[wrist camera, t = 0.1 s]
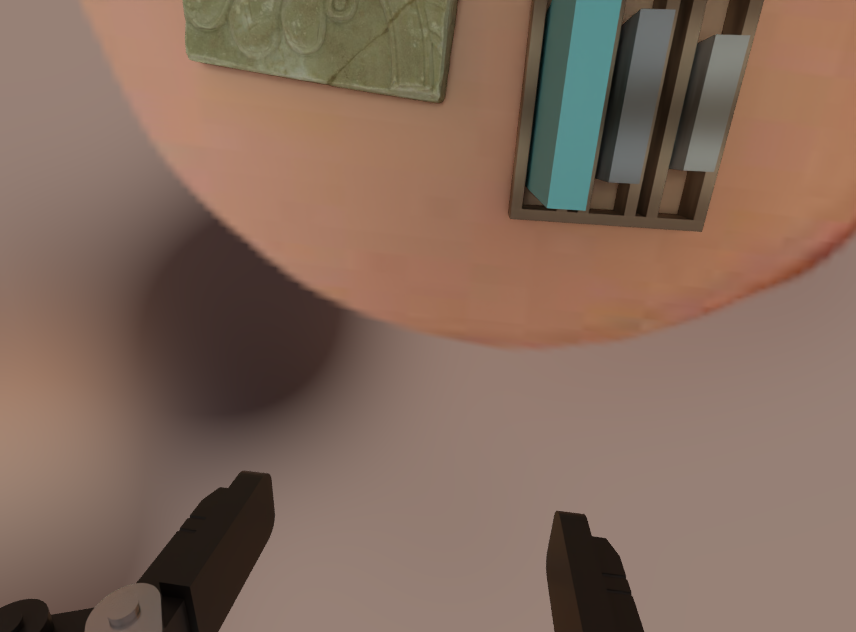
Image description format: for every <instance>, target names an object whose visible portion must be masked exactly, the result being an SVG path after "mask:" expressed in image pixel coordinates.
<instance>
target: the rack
mask: <svg viewBox="0 0 856 632" xmlns="http://www.w3.org/2000/svg"><path fill="white" fill-rule="evenodd" d="M625 2H626V0H622V2H621V8H620V13H619V19H618V25H617V31H616V37H615V43H614V48H613V54H612V60H611V66H610V72H609V77H608V83H607V89H606V95H605V101H604V106H603V112H602V118H601V124H600V130H599V136H598V141H597V147H596V153H595V159H594V165H593V170H592V176H591V182H590V188H589V194H588V199H587V205H586V211H582V210H567V209H551V208H546V207H545V206H539V205H523V204H522V203H523V195H524V187H525V179H526V170H527V162H528V154H529V146H530V138H531V129H532V121H533V113H534V105H535V97H536V88H537V80H538V72H539V64H540V56H541V47H542V39H543V31H544V23H545V15H546V6H547V0H532V5H531V14H530V23H529V32H528V41H527V50H526V59H525V67H524V76H523V85H522V94H521V103H520V112H519V121H518V130H517V139H516V148H515V157H514V166H513V175H512V184H511V193H510V202H509V211H508V214H509V217H510V219H520V220H534V221H549V222H564V223H579V224H594V225H608V226H623V227H638V228H653V229H668V230H682V231H697V232H702V230H703V226H704V222H705V219H706V215H707V211H708V207H709V204H710V200H711V196H712V192H713V189H714V185H715V181H716V177H717V174H718V170H719V166H720V163H721V159H722V155H723V151H724V148H725V144H726V140H727V136H728V133H729V129H730V125H731V121H732V118H733V114H734V110H735V107H736V103H737V99H738V95H739V92H740V88H741V84H742V80H743V77H744V73H745V69H746V65H747V62H748V58H749V54H750V51H751V47H752V43H753V39H754V36H755V32H756V28H757V24H758V21H759V17H760V13H761V9H762V6H763V2H764V0H730V2H729V6H728V10H727V15H726V19H725V23H724V27H723V31H722V35H750V39H749V42H748V46H747V50H746V54H745V58H744V61H743V65H742V69H741V73H740V76H739V80H738V84H737V88H736V91H735V95H734V99H733V103H732V107H731V110H730V114H729V118H728V122H727V125H726V129H725V133H724V137H723V141H722V144H721V148H720V152H719V156H718V159H717V163H716V167H715V171H714V172H703V171H688V174H687V178H686V182H685V186H684V190H683V194H682V198H681V202H680V206H679V210H678V214H663V213H658V212H659V208H660V203H661V199H662V195H663V190H664V186H665V181H666V177H667V173H668V168H669V164H670V160H671V155H672V151H673V147H674V142H675V138H676V134H677V129H678V125H679V120H680V116H681V112H682V107H683V103H684V99H685V94H686V90H687V86H688V81H689V77H690V73H691V68H692V64H693V59H694V55H695V51H696V46H697V42H698V38H699V33H700V29H701V25H702V20H703V16H704V12H705V7H706V3H707V0H654V4H653V9H670V10H676V11H675V16H674V21H673V25H672V30H671V35H670V40H669V44H668V49H667V54H666V59H665V64H664V68H663V73H662V78H661V83H660V87H659V92H658V97H657V102H656V106H655V111H654V116H653V121H652V126H651V130H650V135H649V140H648V145H647V149H646V154H645V159H644V164H643V168H642V173H641V178H640V183H639V184H629V183H619V184H618V189H617V195H616V200H615V205H614V210H601V209H589V208H590V202H591V197H592V191H593V185H594V179H595V174H596V168H597V162H598V157H599V151H600V145H601V139H602V134H603V128H604V122H605V116H606V111H607V105H608V99H609V94H610V88H611V82H612V76H613V71H614V65H615V59H616V54H617V48H618V42H619V36H620V31H621V25H622V19H623V14H624V8H625Z"/></svg>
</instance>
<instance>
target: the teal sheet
mask: <svg viewBox="0 0 856 632" xmlns="http://www.w3.org/2000/svg"><path fill="white" fill-rule="evenodd" d="M621 2H622V0H552V2H551V4H550V6H549V8H548V10H547V12H546V17H545V26H544V34H543V42H542V50H541V58H540V66H539V75H538V83H537V91H536V99H535V107H534V116H533V124H532V132H531V140H530V148H529V157H528V165H527V173H526V181H525V186H526V187H527V188H528V189H529V190H530V191H531V192H532V193H533V194H534V195H535V196H536V198H537V199H538V200H539V201H540V202H541V203H542V204H543V205H544V206H545V207H546V208H551V209H567V210H582V211H586V205H587V199H588V194H589V188H590V182H591V176H592V170H593V165H594V159H595V153H596V147H597V141H598V136H599V130H600V124H601V118H602V112H603V106H604V101H605V95H606V89H607V83H608V77H609V72H610V66H611V60H612V54H613V48H614V43H615V37H616V31H617V25H618V19H619V13H620V8H621Z"/></svg>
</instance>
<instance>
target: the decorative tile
mask: <svg viewBox="0 0 856 632" xmlns="http://www.w3.org/2000/svg"><path fill="white" fill-rule="evenodd" d="M457 3H458V0H183V8H184V15H185V19H186V31H185V45H186V53H187V55H188V58H189V59H190V60H193V61H197V62H201V63H206V64H212V65H217V66H223V67H228V68H234V69H240V70H246V71H251V72H257V73H262V74H268V75H274V76H279V77H285V78H291V79H296V80H302V81H308V82H314V83H320V84H326V85H331V86H335V87H341V88H347V89H353V90H359V91H365V92H371V93H377V94H383V95H389V96H395V97H401V98H407V99H414V100H420V101H426V102H433V103H441V102H442V101H443V100H444V97H445V92H446V86H447V78H448V71H449V63H450V53H451V47H452V41H453V34H454V27H455V20H456V11H457Z"/></svg>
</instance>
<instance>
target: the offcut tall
mask: <svg viewBox="0 0 856 632" xmlns="http://www.w3.org/2000/svg"><path fill="white" fill-rule="evenodd" d="M675 11H676V10H670V9H640V10H639V11H638V12H637V13H635V14H634V15H633V16H632V17H631V18H630V19H629V20H627V21H626V22H625V23H624V24H623V25H622V26H621V31H620V36H619V42H618V48H617V54H616V59H615V65H614V71H613V76H612V82H611V88H610V94H609V99H608V105H607V111H606V116H605V122H604V128H603V134H602V139H601V145H600V151H599V157H598V162H597V168H596V174H595V178H596V179H600V180H603V181H606V182H612V183H629V184H639V183H640V178H641V173H642V168H643V164H644V159H645V154H646V149H647V145H648V140H649V135H650V130H651V126H652V121H653V116H654V111H655V106H656V102H657V97H658V92H659V87H660V83H661V78H662V73H663V68H664V64H665V59H666V54H667V49H668V44H669V40H670V35H671V30H672V25H673V21H674V16H675Z"/></svg>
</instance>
